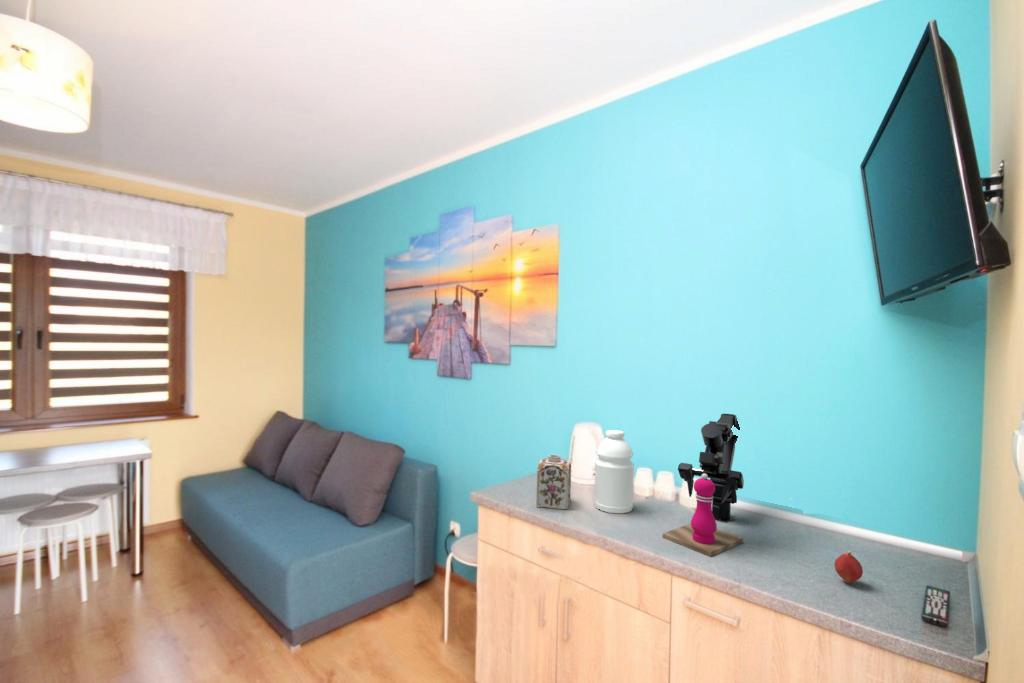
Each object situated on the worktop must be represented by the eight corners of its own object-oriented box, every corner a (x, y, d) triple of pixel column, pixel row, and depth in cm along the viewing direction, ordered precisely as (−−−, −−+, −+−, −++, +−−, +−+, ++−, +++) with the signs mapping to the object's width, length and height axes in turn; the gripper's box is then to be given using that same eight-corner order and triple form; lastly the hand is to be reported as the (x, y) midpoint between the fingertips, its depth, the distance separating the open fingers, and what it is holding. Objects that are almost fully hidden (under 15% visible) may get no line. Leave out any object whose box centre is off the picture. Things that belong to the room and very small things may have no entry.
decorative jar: (535, 507, 169) (536, 458, 169) (540, 497, 180) (541, 451, 180) (568, 510, 166) (569, 460, 166) (571, 500, 177) (572, 453, 178)
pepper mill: (721, 541, 139) (722, 474, 139) (708, 547, 134) (710, 478, 135) (698, 533, 144) (699, 469, 145) (685, 538, 140) (687, 472, 140)
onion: (828, 577, 120) (829, 546, 120) (849, 576, 121) (849, 546, 121) (846, 589, 114) (847, 556, 114) (868, 588, 115) (868, 556, 115)
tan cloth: (695, 525, 154) (695, 521, 154) (743, 542, 141) (743, 538, 141) (662, 537, 144) (662, 533, 144) (710, 556, 131) (710, 552, 131)
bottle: (638, 505, 172) (639, 430, 173) (626, 517, 161) (627, 436, 161) (602, 498, 180) (603, 426, 180) (588, 508, 168) (589, 431, 169)
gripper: (679, 437, 151) (669, 479, 142) (742, 445, 141) (735, 491, 131) (685, 457, 158) (676, 498, 149) (746, 466, 147) (740, 511, 138)
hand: (705, 499), depth 141 cm, fingers open, 9 cm apart
